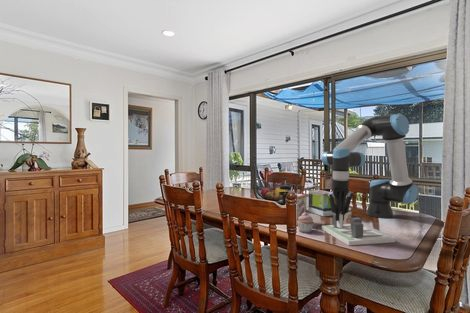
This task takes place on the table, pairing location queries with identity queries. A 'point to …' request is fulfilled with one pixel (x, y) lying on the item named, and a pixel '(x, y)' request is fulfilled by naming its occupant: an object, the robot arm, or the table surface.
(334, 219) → the block
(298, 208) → the candy bar box
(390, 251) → the table surface
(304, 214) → the cupcake
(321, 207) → the tea box
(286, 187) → the french press
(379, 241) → the panel
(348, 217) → the teacup with lid
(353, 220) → the block
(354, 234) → the block
